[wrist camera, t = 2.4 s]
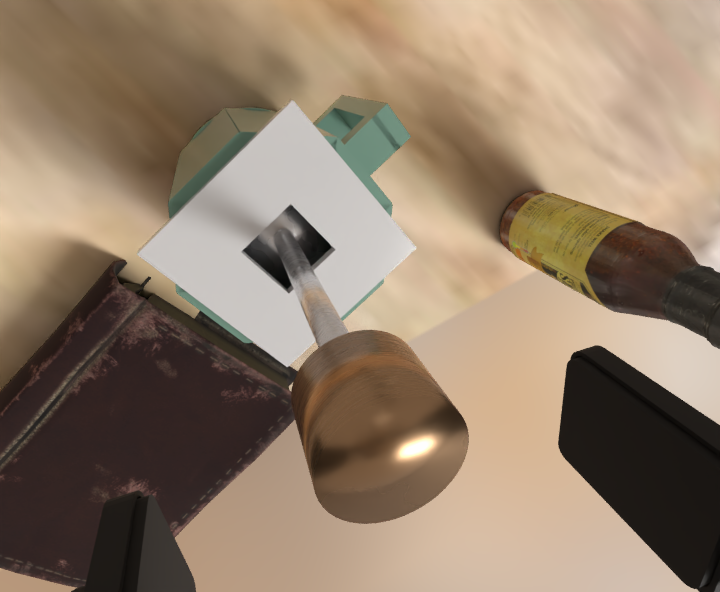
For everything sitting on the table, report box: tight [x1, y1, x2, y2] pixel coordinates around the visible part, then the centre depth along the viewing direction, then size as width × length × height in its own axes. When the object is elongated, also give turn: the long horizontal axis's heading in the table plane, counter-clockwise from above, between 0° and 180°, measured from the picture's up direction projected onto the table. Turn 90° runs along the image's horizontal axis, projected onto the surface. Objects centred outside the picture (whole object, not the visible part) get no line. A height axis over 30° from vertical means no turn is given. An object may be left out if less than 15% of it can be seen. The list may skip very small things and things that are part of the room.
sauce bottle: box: [500, 190, 720, 349], centre depth 33 cm, size 6×6×20 cm
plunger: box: [243, 204, 469, 524], centre depth 16 cm, size 7×7×15 cm
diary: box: [0, 260, 298, 588], centre depth 37 cm, size 19×25×5 cm
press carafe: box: [137, 95, 416, 367], centre depth 27 cm, size 10×13×14 cm
